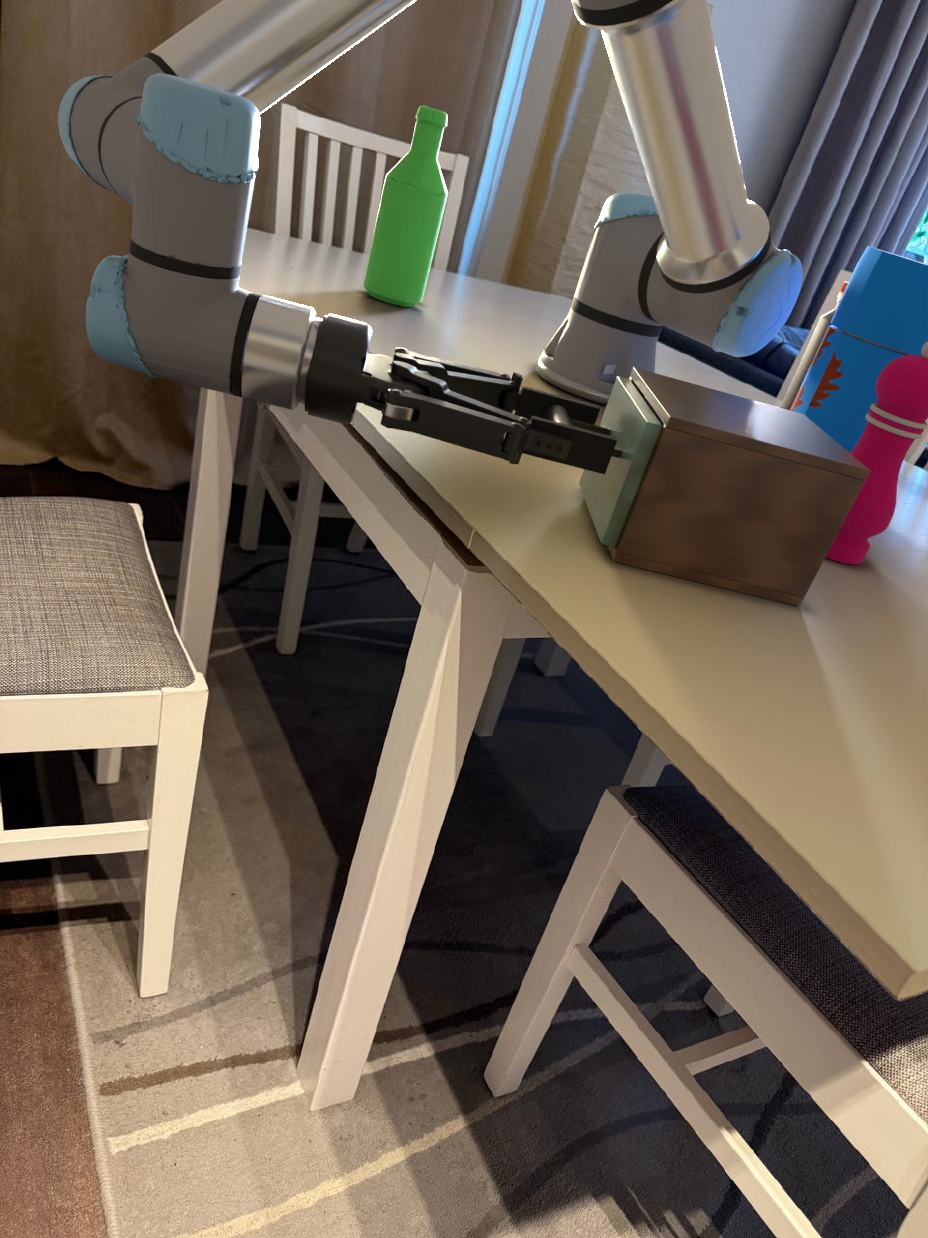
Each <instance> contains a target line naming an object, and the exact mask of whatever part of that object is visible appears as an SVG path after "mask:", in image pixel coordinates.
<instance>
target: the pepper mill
mask: <svg viewBox="0 0 928 1238" xmlns="http://www.w3.org/2000/svg"><path fill="white" fill-rule="evenodd" d="M921 354H922V356H918V355H908V356H902V357H899V358H896V359H895V360H893V361H891V362H890V363H889V364H888V365H887V366H886V367H885V368H884V369H883V370H882V372H881V373H880V375H879V377H878V379H877V382H876V393H877V397H878V402H877V403H874V404H871V406H870V408H871V410H870V411H869V413H868V414H866V416H865V418H866V419H867V420H868V423H867V425H866V427H865V430H864V432H863V435H862V436H861V438H860V440H859V441H858V443H857V445H856V446H855V448H854V449H853V450H852V451H851V452H850V454H851V455H853V456H854V457H855V458H856V459H857V460H858V461H860V462H861V463H862V464H863V465H864V466H866V467H867V468H868V469H869V470H870V473H869V475H868V477H867V479H866V480H865V482H864V484H863V486H862V488H861V490H860V492H859V494H858V496H857V498H856V500H855V501H854V503H853V505H852V507H851V509H850V511H849V513H848V515H847V517H846V519H845V521H844V523H843V524H842V526H841V528H840V530H839V532H838V534H837V536H836V538H835V540H834V542H833V544H832V546H831V547H830V549H829V551H828V553H827V555H826V557H825V559H829V560H832V561H835V562H838V563H842V564H845V565H853V566H854V565H860V564H862V563H863V562H864V559H865V558H866V556H867V554H868V553H869V551H870V548H871V544H870V541H868V540H869V539H871V538H873V537H875V536H877V535H880V534H882V533H884V532H885V531H886V530H887V529H888V527H889V526H890V524H891V521H892V519H893V517H894V515H895V510H896V506H897V495H898V483H899V476H900V472H901V468H902V464H903V462H904V460H905V458H906V455H907V453H908V451H909V450H910V448H911V447H912V445H913V443H914V442H915V440H919V439H921V438H923V436H924V435H923V433H924V431H925V429H927V428H928V422H926V421H927V420H928V342H926V343H925V344H924V345H923V347H922V350H921Z"/></svg>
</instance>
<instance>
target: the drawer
mask: <svg viewBox="0 0 928 1238" xmlns="http://www.w3.org/2000/svg"><path fill="white" fill-rule="evenodd" d="M543 418H544V419H547V420H551V421H555V422H559V423H563V424H566V425H570V426H574V427H578V428H582V429H585V430H589V431H593V432H597V433H601V434H604V435H608V436H612V437H616V439H617V443H616V446H615V448H614V451H613V454H612V457H611V459H610V462H609V465H608V467H607V470H606V473H605V474H601V473H597V472H593V471H589V470H585V469H583V470H582V473H581V476H580V479H579V482H578V485H579V488H580V491H581V493H582V496H583V499H584V502H585V504H586V507H587V509H588V513H589V515H590V518H591V520H592V523H593V526H594V528H595V531H596V535H597V536H598V538H599V541H600V544H601V545H603V546H607V545H608V546H612V547H616V545H617V542H618V540H619V537H620V535H621V532H622V530H623V527H624V525H625V522H626V519H627V517H628V514H629V512H630V509H631V507H632V504H633V502H634V499H635V496H636V494H637V491H638V489H639V486H640V484H641V481H642V479H643V476H644V473H645V471H646V468H647V466H648V463H649V461H650V458H651V456H652V453H653V450H654V448H655V445H656V443H657V440H658V438H659V435H660V433H661V430H662V427H663V425H664V423H663V422H662V421H661V419H660V418H659V416H658V415H657V414H656V412H655V411H654V409H653V408H652V407H651V405H650V404H649V402H648V401H647V399H646V398H645V397H644V396H643V397H642V396H641V394H640V393H639V391H638V390H637V389H636V387H635V386H634V384H633V383H632V382H631V380H630V379H626V378H623V377H619V376H617V378H616V381H615V384H614V386H613V389H612V392H611V395H610V398H609V400H608V403H607V405H606V406H605V409H604V411H603V415H602V418H601V420H600V422H599V424H596V423H595V424H592V423H588V422H585V421H581V420H577V419H573V418H570V417H569V415H568V413H567V411H566V409H565V408H564V407H563V406H561V405H552V406H550V407H548V408H547V409H546V410H545V412H544V415H543ZM608 546H607V547H608Z"/></svg>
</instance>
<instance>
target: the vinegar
mask: <svg viewBox="0 0 928 1238" xmlns="http://www.w3.org/2000/svg"><path fill="white" fill-rule="evenodd" d="M848 283H849V281H843V283H842V286H841V288H840V290H839V293H838V294H837V299H836V300H835V302H837V303H836V305H835V307H834V309H832V310H830V311H828V312H826V313H823V314H822V315H821V316H820V317H819V320H818V322H817V324H816V326H815V328H814V330H813V333H812V335H811V338H810V340H809V341H808V344H807V347H806V349H805V350H804V354H803V355H802V357H801V360H800V362H799V364H798V366H797V369H796V371H795V373H794V375H793V377H792V380H791V382H790V384H789V386H788V389H787V391H786V393H785V396H784V398H783V400H782V402H781V404H780V406H779V408H783V409H786V410H790V409H791V407H792V405H793V403H794V400H795V398H796V396H797V394H798V392H799V389H800V387H801V385H802V383H803V381H804V379H805V376H806V374H807V372H808V370H809V368H810V366H811V363H812V361H813V359H814V357H815V355H816V352H817V350H818V348H819V346H820V344H821V342H822V339H823V337H824V335H825V333H826V331H827V329H828V326H829V325H832V324H831V323H830V322H831V320H832V318H833V315H834V313H835V311H836V309H837V307H838V305H839V302H840V300H841V298H842V296H843V294H844V291H845V289H846V287H847V285H848Z"/></svg>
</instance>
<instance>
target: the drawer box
mask: <svg viewBox="0 0 928 1238" xmlns="http://www.w3.org/2000/svg"><path fill="white" fill-rule="evenodd" d="M629 379H630V380H631V382H632V383H633V384H634V386H635V387H636V389H637V390H638V391H639V393H640V394H641V396H642V397H643V396H644V397H645V398H646V399H647V401H648V402H649V404H650V405H651V407H652V408H653V409H654V411H655V412H656V414H657V415H658V416H659V418H660V419H661V421H662V422H663V423H664V425H663V427H662V430H661V433H660V435H659V438H658V440H657V443H656V445H655V448H654V450H653V453H652V456H651V458H650V461H649V463H648V466H647V468H646V471H645V473H644V476H643V479H642V481H641V484H640V486H639V489H638V491H637V494H636V496H635V499H634V502H633V504H632V507H631V509H630V512H629V514H628V517H627V519H626V522H625V525H624V527H623V530H622V532H621V535H620V537H619V540H618V542H617V545H616V547H612V546H608V545H606V547H607V549H608V552H609V554H610V556H611V559H612V561H613V562H614V563H617V564H623V565H626V566H630V567H634V568H639V569H642V570H646V571H647V570H648V571H651V572H656V573H660V574H663V575H668V576H672V577H675V578H676V577H677V578H679V579H683V580H689V581H693V582H697V583H702V584H705V585H710V586H714V587H718V588H721V589H722V588H723V589H727V590H730V591H734V592H738V593H743V594H746V595H750V596H755V597H759V598H763V599H768V600H772V601H776V602H781V603H784V604H788V605H792V606H797V607H800V606H801V605H802V603H803V601H804V599H805V597H806V595H807V593H808V591H809V590H810V587H811V586H812V584H813V582H814V580H815V578H816V576H817V574H818V573H819V570H820V569H821V567H822V565H823V563H824V561H825V559H826V555H827V553H828V551H829V549H830V547H831V546H832V544H833V542H834V540H835V538H836V536H837V534H838V532H839V530H840V528H841V526H842V524H843V523H844V521H845V519H846V517H847V515H848V513H849V511H850V509H851V507H852V505H853V503H854V501H855V500H856V498H857V496H858V494H859V492H860V490H861V488H862V486H863V484H864V482H865V480H866V479H867V477H868V475H869V473H870V470H869V469H868V468H867V467H866V466H864V465H863V464H862V463H861V462H860V461H858V460H857V459H856V458H855V457H854V456H853V455H851V454H850V453H849V452H848V451H847V450H845V449H844V448H843V447H842V446H841V445H840V444H838V443H837V442H836V441H835V440H834V439H832V438H831V437H830V436H829V435H828V434H827V433H825V432H824V431H823V430H822V429H821V428H819V427H818V426H817V425H816V424H815V423H813V422H812V421H811V420H810V419H809V418H808V417H806V416H805V415H804V414H801V413H797V412H794V411H790V410H786V409H783V408H780V406H775V405H772V404H769V403H766V402H765V403H764V402H761V401H758V400H754V399H750V398H747V397H743V396H739V395H735V394H731V393H729V392H725V391H722V390H717V389H715V388H712V387H711V388H710V387H706V386H703V385H699V384H695V383H692V382H689V381H685V380H681V379H677V378H675V377H671V376H667V375H663V374H660V373H656V372H655V373H653V372H649V371H646V370H642V369H638V368H635V367H633V369H632V372H631V375H630V378H629Z"/></svg>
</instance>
